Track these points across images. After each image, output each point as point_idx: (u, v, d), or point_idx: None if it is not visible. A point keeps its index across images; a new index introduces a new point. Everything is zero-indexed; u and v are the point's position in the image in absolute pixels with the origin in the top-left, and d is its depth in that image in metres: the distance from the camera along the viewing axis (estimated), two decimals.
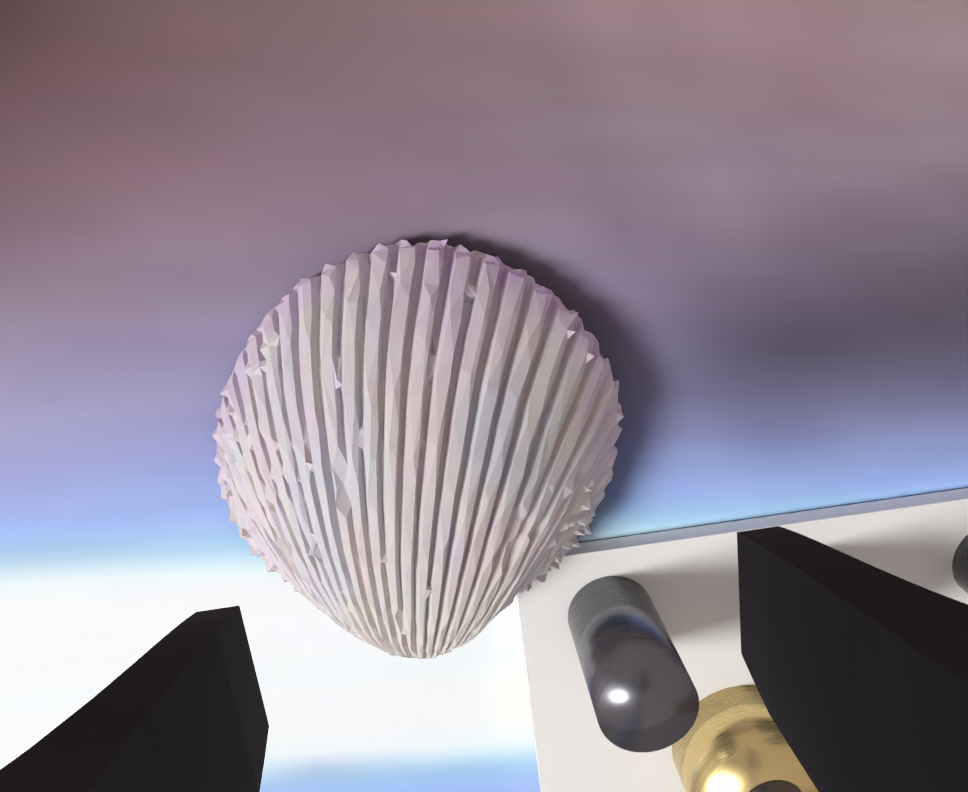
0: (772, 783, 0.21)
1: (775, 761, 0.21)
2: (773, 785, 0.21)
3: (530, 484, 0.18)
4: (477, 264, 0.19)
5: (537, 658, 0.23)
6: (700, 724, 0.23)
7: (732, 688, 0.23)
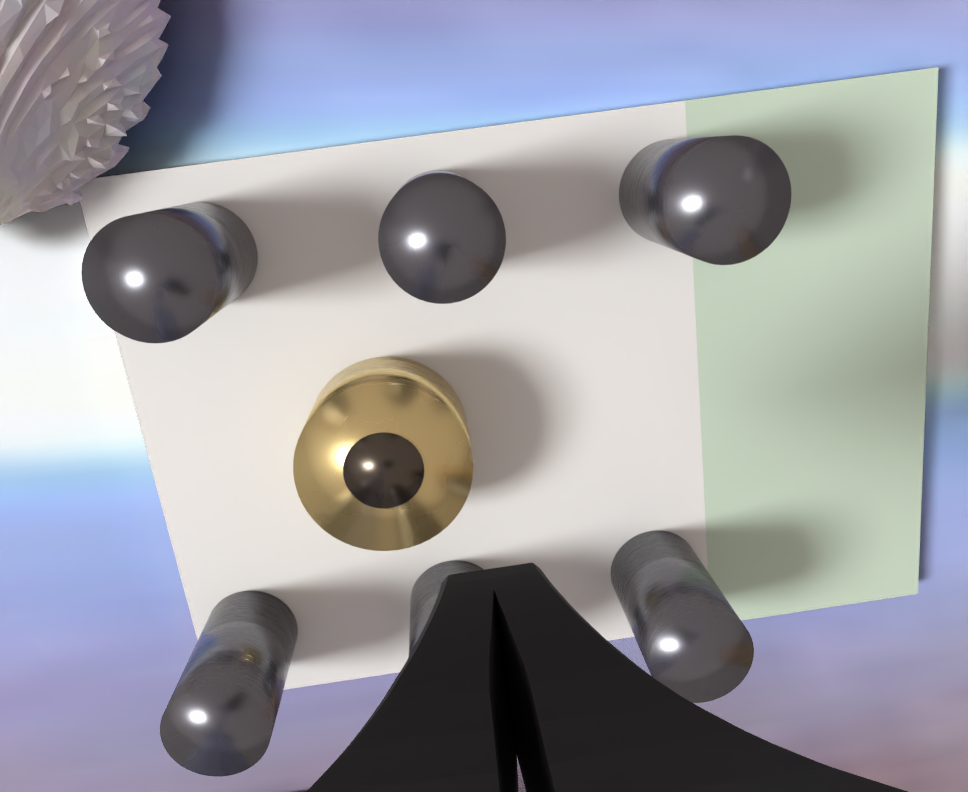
0: (379, 438, 0.18)
1: (377, 405, 0.17)
2: (381, 439, 0.18)
3: None
4: None
5: None
6: (322, 392, 0.19)
7: (370, 358, 0.20)
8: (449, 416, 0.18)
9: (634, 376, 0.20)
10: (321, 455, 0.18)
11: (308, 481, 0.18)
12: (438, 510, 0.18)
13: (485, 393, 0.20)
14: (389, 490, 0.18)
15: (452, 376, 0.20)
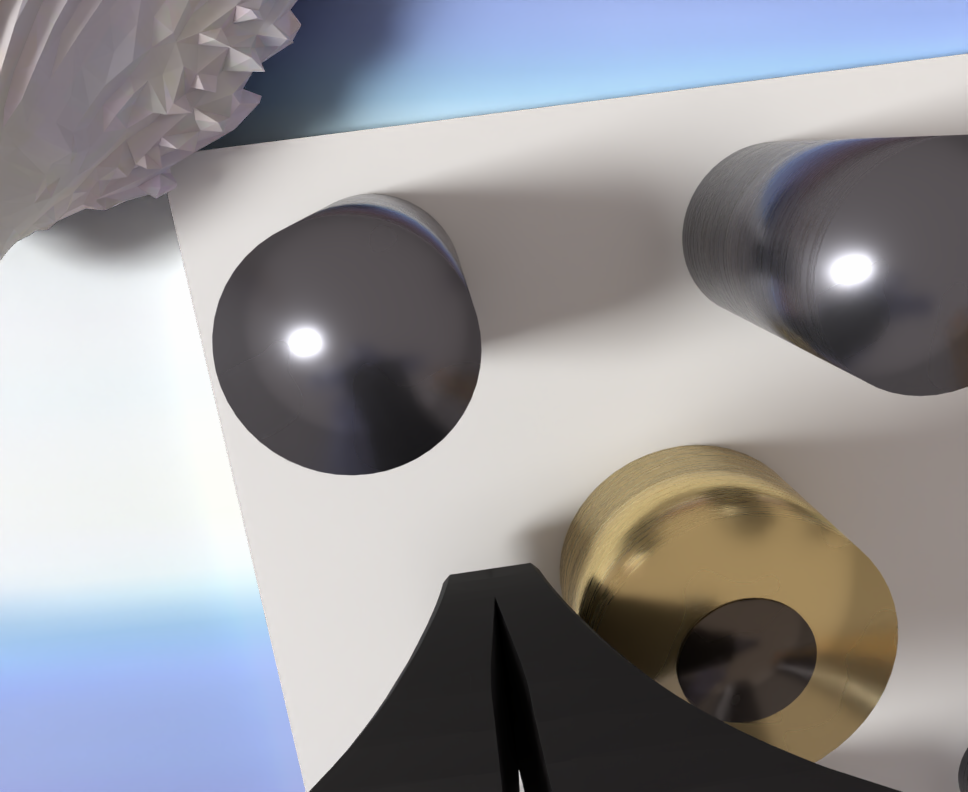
0: (744, 606, 0.10)
1: (751, 553, 0.10)
2: (749, 609, 0.10)
3: None
4: None
5: None
6: (605, 509, 0.11)
7: (672, 449, 0.12)
8: (872, 570, 0.10)
9: None
10: (642, 637, 0.10)
11: None
12: (826, 723, 0.11)
13: None
14: (751, 693, 0.10)
15: None
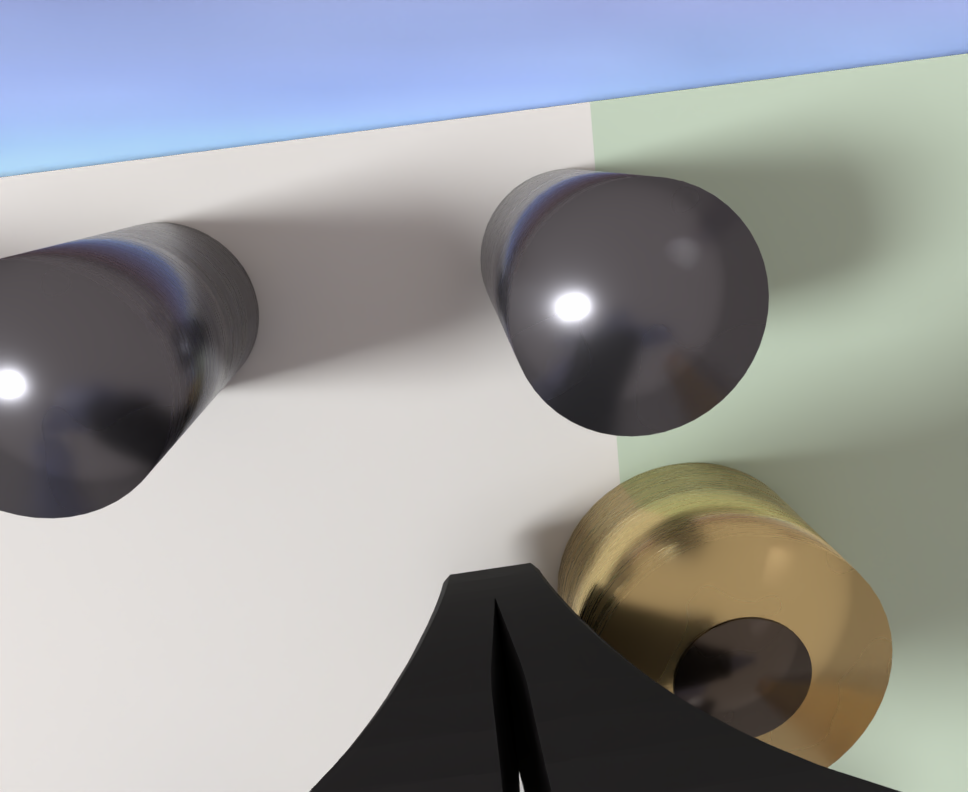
0: (745, 624, 0.10)
1: (756, 573, 0.10)
2: (749, 628, 0.10)
3: None
4: None
5: None
6: (611, 520, 0.12)
7: (679, 465, 0.12)
8: (872, 598, 0.10)
9: (520, 553, 0.12)
10: (643, 648, 0.10)
11: None
12: (814, 746, 0.11)
13: (274, 583, 0.12)
14: (745, 711, 0.10)
15: (216, 557, 0.12)
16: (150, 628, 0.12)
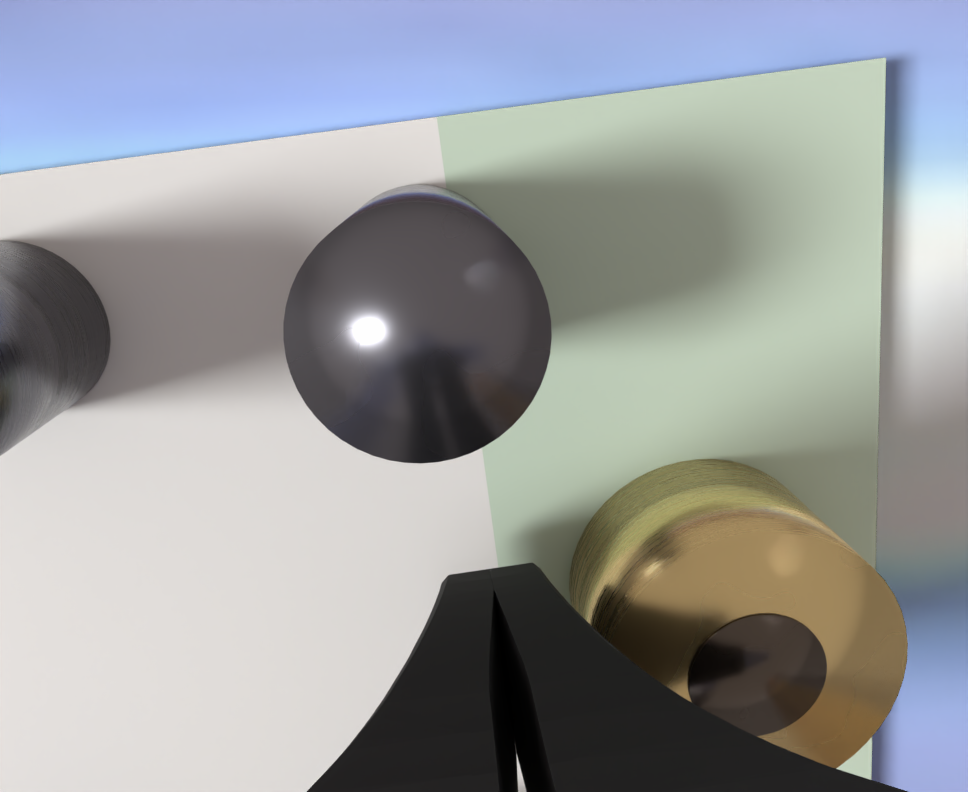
0: (759, 621, 0.10)
1: (770, 569, 0.10)
2: (763, 625, 0.10)
3: None
4: None
5: None
6: (622, 517, 0.11)
7: (690, 461, 0.12)
8: (886, 593, 0.10)
9: (391, 570, 0.12)
10: (657, 645, 0.10)
11: None
12: (830, 742, 0.11)
13: (141, 601, 0.12)
14: (759, 707, 0.10)
15: (80, 576, 0.12)
16: (17, 647, 0.12)
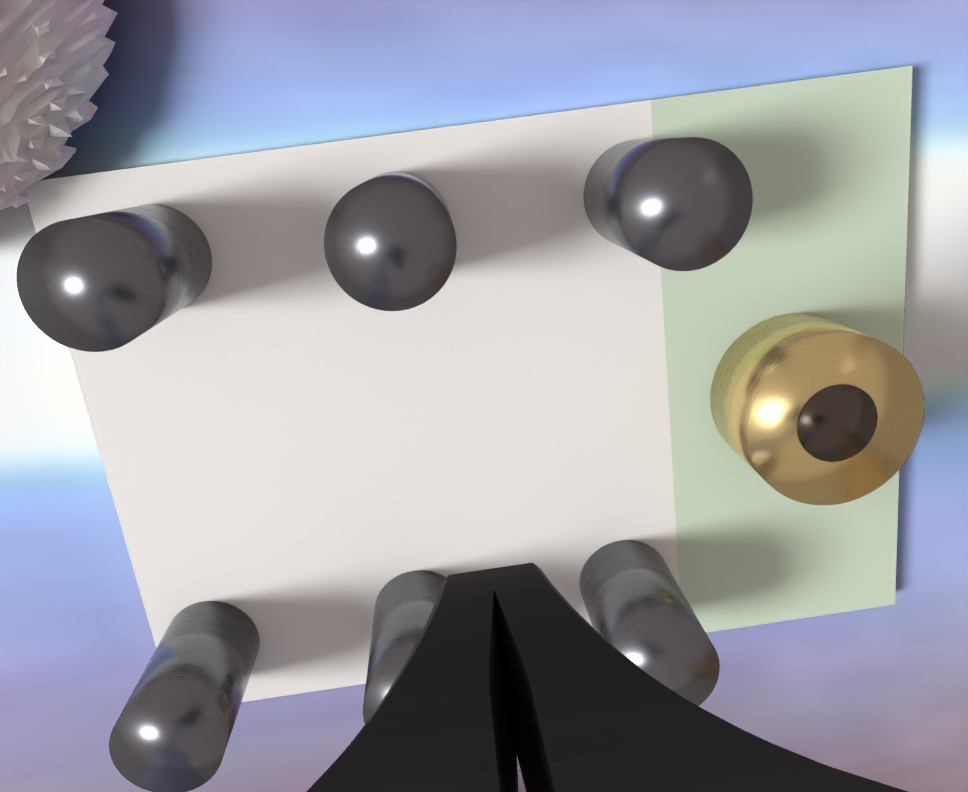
0: (839, 389, 0.18)
1: (846, 356, 0.17)
2: (841, 391, 0.18)
3: None
4: None
5: None
6: (751, 343, 0.19)
7: (789, 313, 0.20)
8: (912, 373, 0.18)
9: (602, 383, 0.20)
10: (780, 403, 0.18)
11: (762, 428, 0.18)
12: (878, 468, 0.18)
13: (449, 400, 0.20)
14: (838, 443, 0.18)
15: (414, 383, 0.20)
16: (371, 429, 0.20)
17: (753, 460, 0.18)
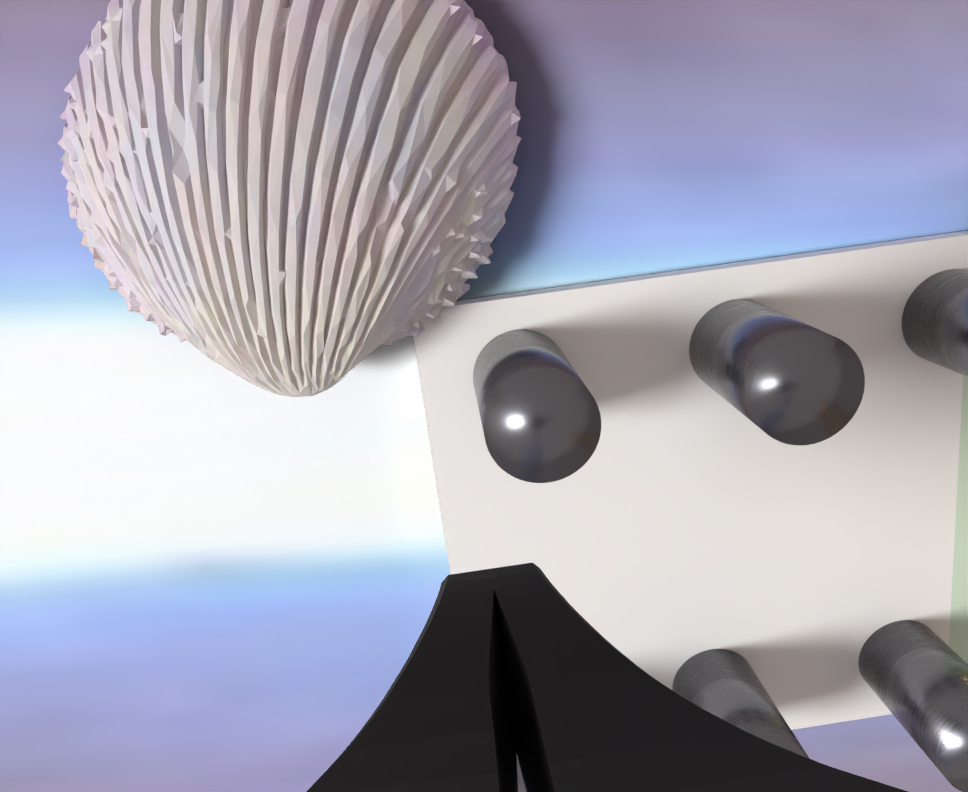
0: None
1: None
2: None
3: (402, 160, 0.16)
4: None
5: (441, 429, 0.20)
6: None
7: None
8: None
9: (899, 481, 0.22)
10: None
11: None
12: None
13: (762, 497, 0.22)
14: None
15: (732, 482, 0.21)
16: (689, 524, 0.22)
17: None
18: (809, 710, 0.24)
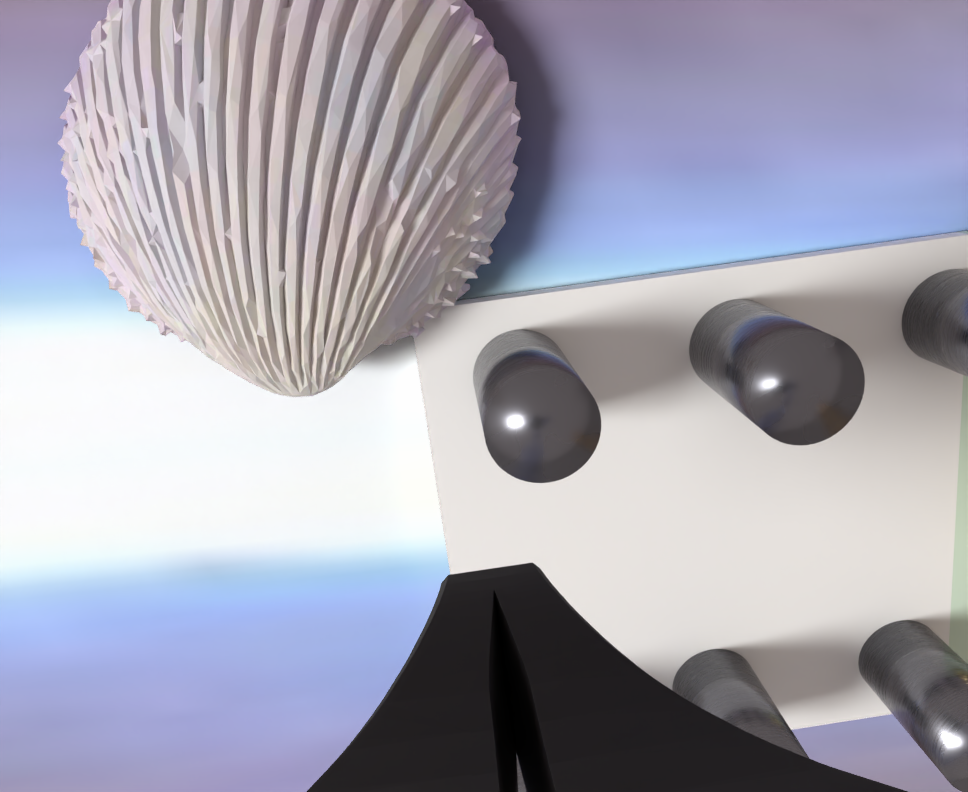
0: None
1: None
2: None
3: (402, 160, 0.16)
4: None
5: (441, 429, 0.20)
6: None
7: None
8: None
9: (899, 481, 0.22)
10: None
11: None
12: None
13: (762, 497, 0.22)
14: None
15: (732, 482, 0.21)
16: (689, 524, 0.22)
17: None
18: (809, 710, 0.24)
